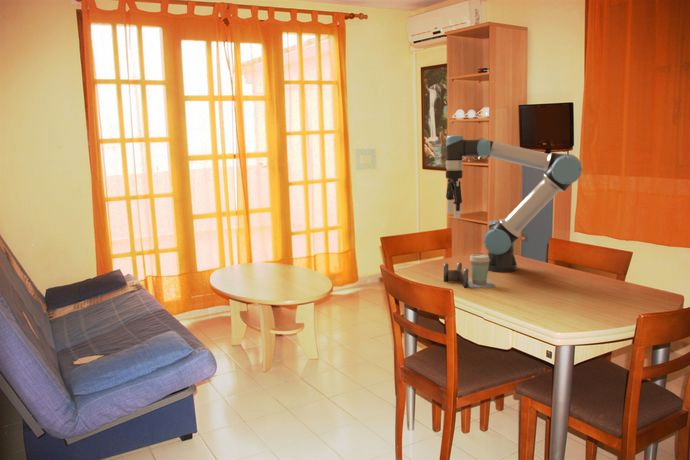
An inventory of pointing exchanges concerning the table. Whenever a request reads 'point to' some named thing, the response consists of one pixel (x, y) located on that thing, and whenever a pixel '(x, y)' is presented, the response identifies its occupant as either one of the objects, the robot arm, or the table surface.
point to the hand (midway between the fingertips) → (453, 215)
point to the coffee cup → (479, 268)
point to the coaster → (487, 285)
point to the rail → (456, 275)
